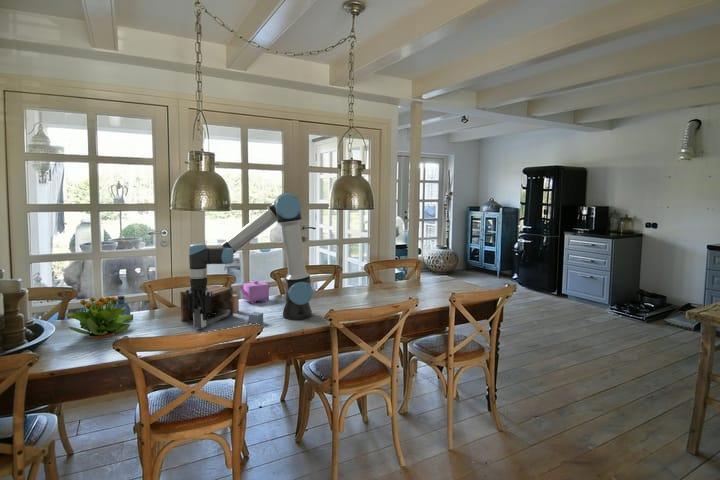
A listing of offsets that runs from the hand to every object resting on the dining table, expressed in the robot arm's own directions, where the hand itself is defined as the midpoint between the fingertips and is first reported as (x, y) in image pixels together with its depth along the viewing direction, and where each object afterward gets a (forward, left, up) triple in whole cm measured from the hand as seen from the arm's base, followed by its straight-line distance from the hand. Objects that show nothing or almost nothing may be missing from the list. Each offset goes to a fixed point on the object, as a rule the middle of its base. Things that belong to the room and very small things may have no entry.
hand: (199, 326), depth 196 cm
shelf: (+9, -17, -2) cm, 19 cm away
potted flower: (+35, +23, -2) cm, 42 cm away
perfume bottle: (+47, +1, -2) cm, 47 cm away
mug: (+9, -15, -2) cm, 17 cm away
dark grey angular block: (+5, -10, 0) cm, 11 cm away
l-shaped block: (+10, -32, -2) cm, 33 cm away
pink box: (+6, -54, -2) cm, 54 cm away
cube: (-19, -18, -2) cm, 26 cm away
